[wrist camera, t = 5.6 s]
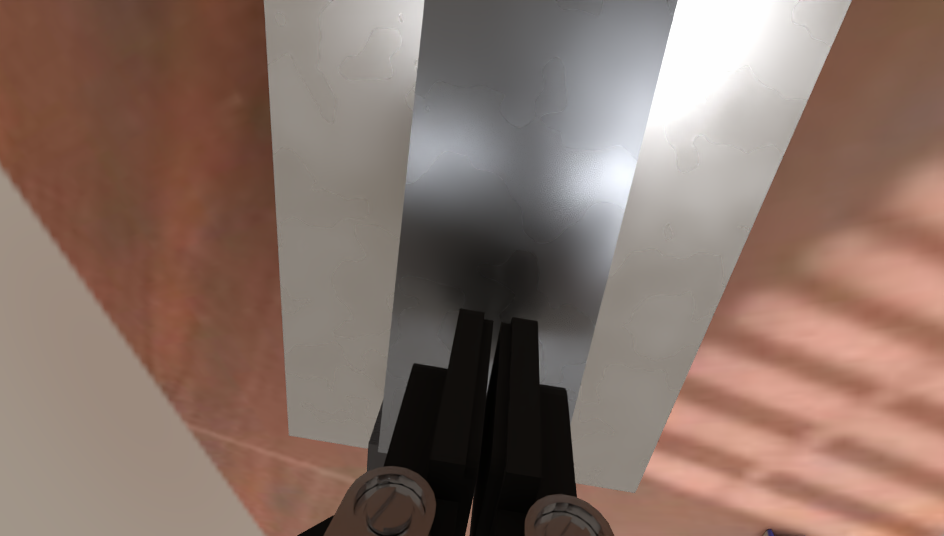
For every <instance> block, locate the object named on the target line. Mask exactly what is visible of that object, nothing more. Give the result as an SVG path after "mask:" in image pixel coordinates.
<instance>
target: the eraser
mask: <svg viewBox="0 0 944 536" xmlns="http://www.w3.org/2000/svg"><path fill="white" fill-rule="evenodd" d="M763 536H774V535H773V532H772V530H771V529H769V530H767V531H766V532H765V533H764V535H763Z"/></svg>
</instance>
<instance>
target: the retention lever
mask: <svg viewBox="0 0 944 536" xmlns="http://www.w3.org/2000/svg"><path fill="white" fill-rule="evenodd" d="M677 3H678V0H424V9H423V19H422V29H421V39H420V48H419V58H418V68H417V77H416V87H415V97H414V107H413V116H412V126H411V136H410V145H409V155H408V165H407V175H406V184H405V194H404V204H403V214H402V223H401V233H400V243H399V252H398V262H397V272H396V282H395V291H394V301H393V311H392V320H391V330H390V340H389V350H388V359H387V369H386V379H385V388H384V398H383V408H382V418H381V427H380V437H379V447H378V452H381V453H387V452H388V449H389V445H390V442H391V438H392V435H393V431H394V428H395V424H396V421H397V418H398V414H399V411H400V407H401V404H402V400H403V397H404V393H405V390H406V386H407V383H408V379H409V376H410V372H411V369H412V366H413V364H414V363H417V364H423V365H429V366H435V367H441V368H447V369H448V365H449V360H450V355H451V350H452V345H453V340H454V335H455V330H456V325H457V320H458V315H459V310H460V308H462V309H468V310H474V311H480V312H485V314H484V319H487V320H493V321H494V322H493V333H492V343H491V353H490V363H489V374H488V384H487V390H488V385H489V380H490V375H491V370H492V365H493V360H494V355H495V350H496V345H497V340H498V335H499V330H500V325H501V322H505V323H511V319H512V317H517V318H523V319H529V320H535V321H538V339H539V376H540V384H543V385H550V386H556V387H562V388H565V389H566V390H567V395H568V405H569V416H570V425H571V421H572V417H573V413H574V409H575V405H576V401H577V397H578V393H579V389H580V385H581V381H582V377H583V373H584V369H585V366H586V362H587V358H588V354H589V350H590V346H591V342H592V338H593V334H594V330H595V326H596V322H597V318H598V314H599V310H600V306H601V302H602V298H603V295H604V291H605V287H606V283H607V279H608V275H609V271H610V267H611V263H612V259H613V255H614V251H615V247H616V243H617V239H618V235H619V231H620V227H621V224H622V220H623V216H624V212H625V208H626V204H627V200H628V196H629V192H630V188H631V184H632V180H633V176H634V172H635V168H636V164H637V160H638V156H639V153H640V149H641V145H642V141H643V137H644V133H645V129H646V125H647V121H648V117H649V113H650V109H651V105H652V101H653V97H654V93H655V89H656V85H657V82H658V78H659V74H660V70H661V66H662V62H663V58H664V54H665V50H666V46H667V42H668V38H669V34H670V30H671V26H672V22H673V18H674V14H675V11H676V7H677ZM486 395H487V394H486Z"/></svg>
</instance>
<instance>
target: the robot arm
mask: <svg viewBox="0 0 944 536" xmlns="http://www.w3.org/2000/svg"><path fill="white" fill-rule="evenodd" d="M484 314H485V312H480V311H474V310H468V309H462V308H460V310H459V315H458V320H457V325H456V330H455V335H454V340H453V345H452V350H451V355H450V360H449V365H448V369H447V368H441V367H435V366H429V365H423V364H417V363H414V364H413V366H412V369H411V372H410V376H409V379H408V383H407V386H406V390H405V393H404V397H403V400H402V404H401V407H400V411H399V414H398V418H397V421H396V424H395V428H394V431H393V435H392V438H391V442H390V445H389V449H388V452H387V456H386V459H385V463H384V466H383V467H379V468H376V469H373V470H371V471H368V472H366V473H364V474H363V475H362V476H360V477H359V478H358V479H356V480H355V481H354V483H353V484H352V485H351V487H350V488H349V489H348V491H347V492H346V494H345V496H344V498H343V500H342V502H341V504H340V506H339V507H338V509H337V511H336V513H335V515H333V516H332V517H330V518H328V519H326V520H324V521H323V522H321V523H319V524H317V525H315V526H314V527H312V528H310V529H308V530H306V531H305V532H303V533H301V534H299V535H298V536H465V533H466V528H467V523H468V519H469V514H470V509H471V504H472V500H473V508H472V517H471V527H470V536H614V534H613V532H612V530H611V528H610V525H609V523H608V522H607V521H606V519H605V518H604V517H603V516H602V514H601V513H600V512H599V511H598V510H597V509H595V508H594V507H593V506H591V505H590V504H589V503H588V502H586V501H583V500H581V499H579V498H577V494H576V483H575V472H574V461H573V450H572V439H571V427H570V416H569V405H568V395H567V390H566V389H565V388H562V387H556V386H550V385H543V384H540V376H539V339H538V321H535V320H529V319H523V318H517V317H512V319H511V323H505V322H501V325H500V330H499V335H498V340H497V345H496V350H495V355H494V360H493V365H492V370H491V375H490V380H489V385H488V390H487V384H488V374H489V363H490V353H491V343H492V333H493V322H494V321H493V320H487V319H484ZM486 394H487V395H486ZM473 495H474V498H473Z"/></svg>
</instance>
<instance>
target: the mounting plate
mask: <svg viewBox="0 0 944 536" xmlns="http://www.w3.org/2000/svg"><path fill="white" fill-rule="evenodd" d="M851 1H852V0H678V3H677V7H676V11H675V14H674V18H673V22H672V26H671V30H670V34H669V38H668V42H667V46H666V50H665V54H664V58H663V62H662V66H661V70H660V74H659V78H658V82H657V85H656V89H655V93H654V97H653V101H652V105H651V109H650V113H649V117H648V121H647V125H646V129H645V133H644V137H643V141H642V145H641V149H640V153H639V156H638V160H637V164H636V168H635V172H634V176H633V180H632V184H631V188H630V192H629V196H628V200H627V204H626V208H625V212H624V216H623V220H622V224H621V227H620V231H619V235H618V239H617V243H616V247H615V251H614V255H613V259H612V263H611V267H610V271H609V275H608V279H607V283H606V287H605V291H604V295H603V298H602V302H601V306H600V310H599V314H598V318H597V322H596V326H595V330H594V334H593V338H592V342H591V346H590V350H589V354H588V358H587V362H586V366H585V369H584V373H583V377H582V381H581V385H580V389H579V393H578V397H577V401H576V405H575V409H574V413H573V417H572V421H571V425H570V427H571V439H572V450H573V461H574V472H575V483H578V484H584V485H590V486H596V487H602V488H608V489H614V490H620V491H626V492H632V493H635V492H636V490H637V488H638V485H639V483H640V481H641V478H642V476H643V474H644V472H645V469H646V467H647V465H648V463H649V460H650V458H651V456H652V453H653V451H654V449H655V447H656V444H657V442H658V440H659V438H660V435H661V433H662V431H663V428H664V426H665V424H666V422H667V419H668V417H669V415H670V413H671V410H672V408H673V406H674V403H675V401H676V399H677V397H678V394H679V392H680V390H681V387H682V385H683V383H684V381H685V378H686V376H687V374H688V372H689V369H690V367H691V365H692V362H693V360H694V358H695V356H696V353H697V351H698V349H699V347H700V344H701V342H702V340H703V337H704V335H705V333H706V331H707V328H708V326H709V324H710V321H711V319H712V317H713V315H714V312H715V310H716V308H717V306H718V303H719V301H720V299H721V296H722V294H723V292H724V290H725V287H726V285H727V283H728V281H729V278H730V276H731V274H732V271H733V269H734V267H735V265H736V262H737V260H738V258H739V256H740V253H741V251H742V249H743V246H744V244H745V242H746V240H747V237H748V235H749V233H750V230H751V228H752V226H753V224H754V221H755V219H756V217H757V215H758V212H759V210H760V208H761V205H762V203H763V201H764V199H765V196H766V194H767V192H768V190H769V187H770V185H771V183H772V180H773V178H774V176H775V174H776V171H777V169H778V167H779V164H780V162H781V160H782V158H783V155H784V153H785V151H786V149H787V146H788V144H789V142H790V139H791V137H792V135H793V133H794V130H795V128H796V126H797V124H798V121H799V119H800V117H801V114H802V112H803V110H804V108H805V105H806V103H807V101H808V99H809V96H810V94H811V92H812V89H813V87H814V85H815V83H816V80H817V78H818V76H819V73H820V71H821V69H822V67H823V64H824V62H825V60H826V58H827V55H828V53H829V51H830V48H831V46H832V44H833V42H834V39H835V37H836V35H837V33H838V30H839V28H840V26H841V23H842V21H843V19H844V17H845V14H846V12H847V10H848V7H849V5H850V3H851ZM423 9H424V0H264V10H265V27H266V45H267V62H268V79H269V97H270V114H271V132H272V149H273V166H274V184H275V201H276V218H277V236H278V253H279V271H280V288H281V305H282V323H283V340H284V358H285V375H286V392H287V410H288V427H289V436H295V437H301V438H307V439H313V440H319V441H325V442H331V443H337V444H343V445H349V446H355V447H361V448H368V461H367V472H368V471H371V470H373V469H376V468H379V467H383V466H384V463H385V459H386V456H387V453H381V452H378V447H379V437H380V427H381V418H382V408H383V398H384V388H385V379H386V369H387V359H388V350H389V340H390V330H391V320H392V311H393V301H394V291H395V282H396V272H397V262H398V252H399V243H400V233H401V223H402V214H403V204H404V194H405V184H406V175H407V165H408V155H409V145H410V136H411V126H412V116H413V107H414V97H415V87H416V77H417V68H418V58H419V48H420V39H421V29H422V19H423ZM473 496H474V495H473Z"/></svg>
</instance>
